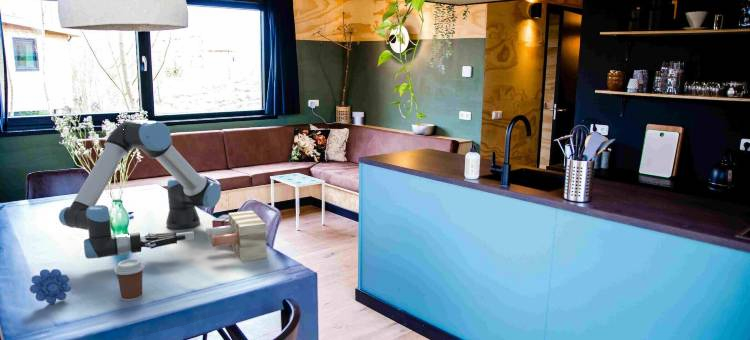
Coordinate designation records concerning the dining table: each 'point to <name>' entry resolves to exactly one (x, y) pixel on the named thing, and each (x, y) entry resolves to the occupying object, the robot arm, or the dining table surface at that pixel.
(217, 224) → the puzzle cube
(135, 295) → the coffee cup
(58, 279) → the blue lumpy lobed piece
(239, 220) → the socket block
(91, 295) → the dining table surface
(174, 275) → the dining table surface
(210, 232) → the white plug
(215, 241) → the terracotta plug
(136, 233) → the robot arm
